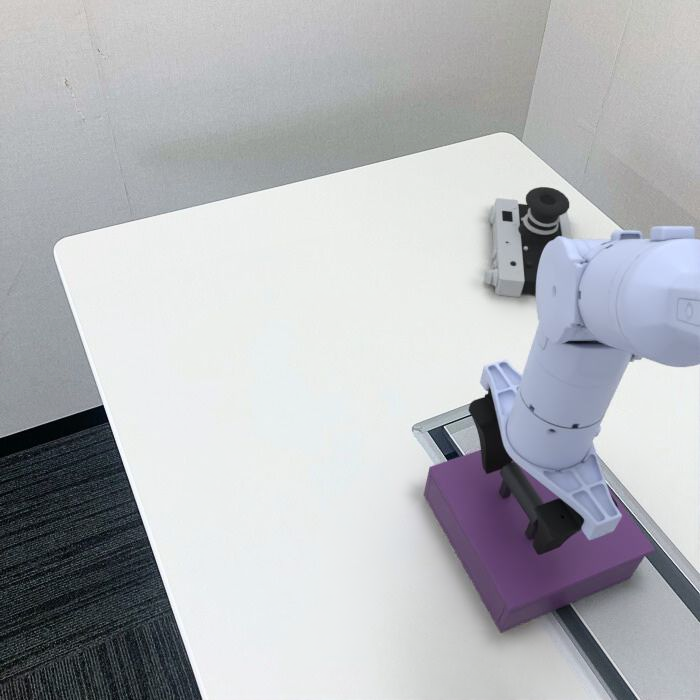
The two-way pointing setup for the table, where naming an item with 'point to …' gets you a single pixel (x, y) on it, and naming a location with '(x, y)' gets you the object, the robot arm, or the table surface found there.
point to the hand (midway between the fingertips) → (520, 505)
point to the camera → (524, 238)
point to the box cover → (527, 532)
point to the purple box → (488, 589)
